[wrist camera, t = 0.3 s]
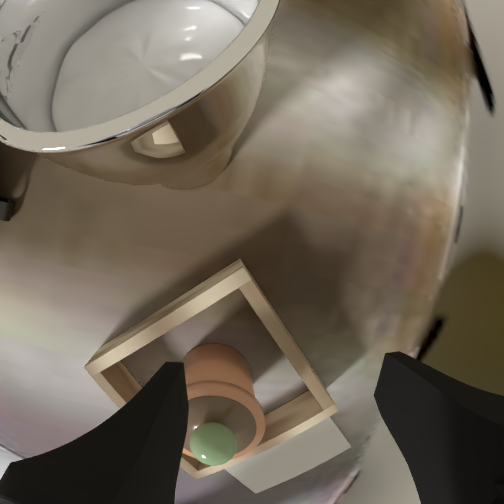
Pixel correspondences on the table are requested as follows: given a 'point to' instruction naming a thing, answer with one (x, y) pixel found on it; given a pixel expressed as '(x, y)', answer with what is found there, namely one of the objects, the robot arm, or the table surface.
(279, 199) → the table surface
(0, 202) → the coffee press
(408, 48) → the table surface
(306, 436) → the grey mat
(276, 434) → the frame
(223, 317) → the table surface
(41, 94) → the silver drink can
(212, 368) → the terracotta pot
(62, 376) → the table surface
